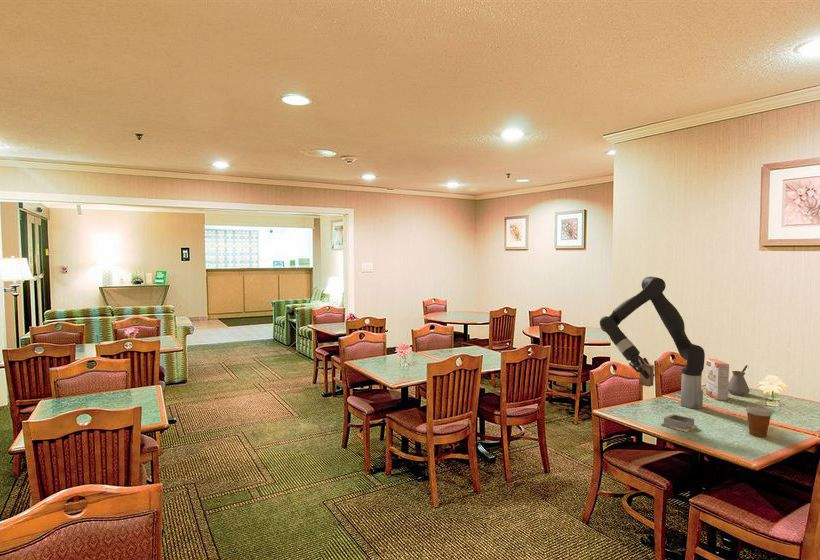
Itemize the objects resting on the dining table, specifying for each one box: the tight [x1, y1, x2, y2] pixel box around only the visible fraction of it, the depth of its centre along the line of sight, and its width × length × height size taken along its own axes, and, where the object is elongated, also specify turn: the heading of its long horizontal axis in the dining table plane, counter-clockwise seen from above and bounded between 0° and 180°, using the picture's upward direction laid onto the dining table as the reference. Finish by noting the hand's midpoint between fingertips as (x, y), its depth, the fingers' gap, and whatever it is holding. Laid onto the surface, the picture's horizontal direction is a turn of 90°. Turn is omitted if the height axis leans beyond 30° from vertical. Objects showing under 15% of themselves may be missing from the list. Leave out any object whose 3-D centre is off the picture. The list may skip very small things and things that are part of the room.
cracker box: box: [705, 358, 730, 402], centre depth 272 cm, size 14×6×21 cm, turn 172°
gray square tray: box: [661, 413, 698, 433], centre depth 223 cm, size 11×11×4 cm
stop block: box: [639, 363, 655, 388], centre depth 237 cm, size 4×4×10 cm
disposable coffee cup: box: [745, 405, 773, 438], centre depth 213 cm, size 10×10×12 cm
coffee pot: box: [728, 364, 751, 396], centre depth 283 cm, size 21×12×15 cm, turn 129°
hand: (650, 377), depth 236 cm, fingers closed on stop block, 4 cm apart
